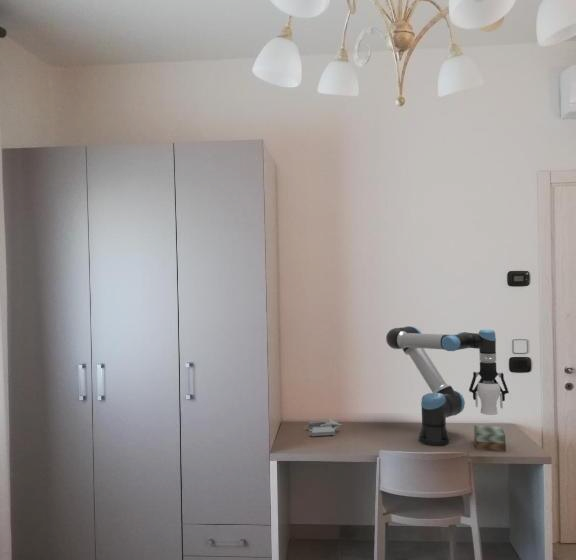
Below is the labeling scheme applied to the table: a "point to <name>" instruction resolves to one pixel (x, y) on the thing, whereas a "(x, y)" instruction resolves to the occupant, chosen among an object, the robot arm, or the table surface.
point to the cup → (488, 396)
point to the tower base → (490, 446)
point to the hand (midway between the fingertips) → (488, 407)
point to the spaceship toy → (323, 428)
